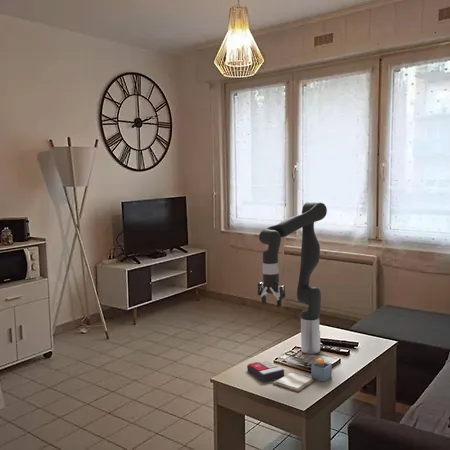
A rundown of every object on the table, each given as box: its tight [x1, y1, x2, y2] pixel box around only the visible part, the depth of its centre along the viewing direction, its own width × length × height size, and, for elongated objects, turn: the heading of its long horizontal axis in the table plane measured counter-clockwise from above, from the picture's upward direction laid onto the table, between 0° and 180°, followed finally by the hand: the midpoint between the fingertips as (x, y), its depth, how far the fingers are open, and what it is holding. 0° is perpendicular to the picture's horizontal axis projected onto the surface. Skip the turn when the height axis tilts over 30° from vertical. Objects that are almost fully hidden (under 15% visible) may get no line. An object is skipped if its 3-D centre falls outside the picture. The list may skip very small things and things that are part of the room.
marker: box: [315, 357, 325, 368], centre depth 219 cm, size 3×3×8 cm
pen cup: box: [310, 362, 332, 383], centre depth 219 cm, size 6×6×6 cm
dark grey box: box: [246, 359, 285, 384], centre depth 226 cm, size 11×4×15 cm
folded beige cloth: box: [272, 371, 317, 393], centre depth 216 cm, size 14×13×1 cm
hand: (271, 305), depth 235 cm, fingers open, 8 cm apart
